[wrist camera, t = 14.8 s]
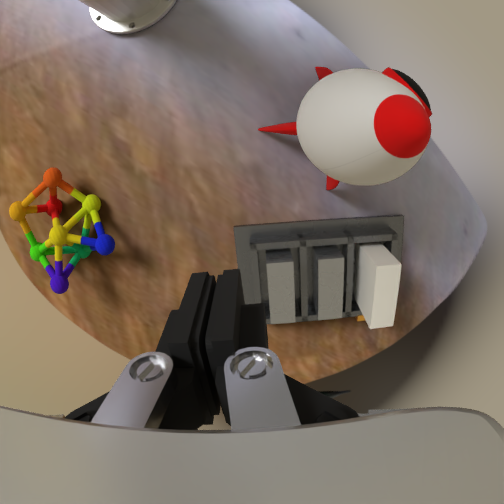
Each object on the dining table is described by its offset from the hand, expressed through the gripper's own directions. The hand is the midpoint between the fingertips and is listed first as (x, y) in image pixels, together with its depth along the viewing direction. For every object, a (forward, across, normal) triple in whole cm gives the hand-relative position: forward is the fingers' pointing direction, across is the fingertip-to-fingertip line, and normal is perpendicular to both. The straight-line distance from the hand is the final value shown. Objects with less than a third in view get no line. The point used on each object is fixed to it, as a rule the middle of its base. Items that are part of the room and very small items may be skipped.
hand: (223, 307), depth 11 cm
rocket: (+29, -10, -5) cm, 31 cm away
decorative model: (+30, +24, +3) cm, 38 cm away
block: (+28, -15, +14) cm, 34 cm away
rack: (+28, -9, +14) cm, 33 cm away
